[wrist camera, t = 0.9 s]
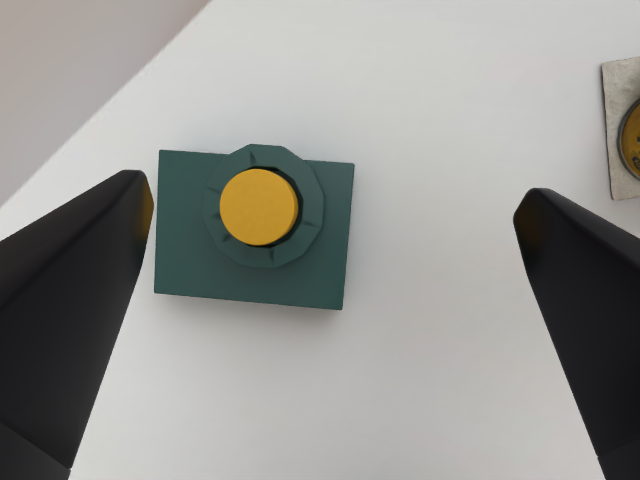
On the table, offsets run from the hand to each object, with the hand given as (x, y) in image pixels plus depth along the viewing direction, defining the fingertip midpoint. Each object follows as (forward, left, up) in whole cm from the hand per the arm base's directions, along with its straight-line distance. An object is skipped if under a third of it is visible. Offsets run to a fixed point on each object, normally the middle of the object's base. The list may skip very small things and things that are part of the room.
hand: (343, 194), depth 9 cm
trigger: (-1, +4, -12) cm, 13 cm away
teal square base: (-2, +5, -16) cm, 17 cm away
